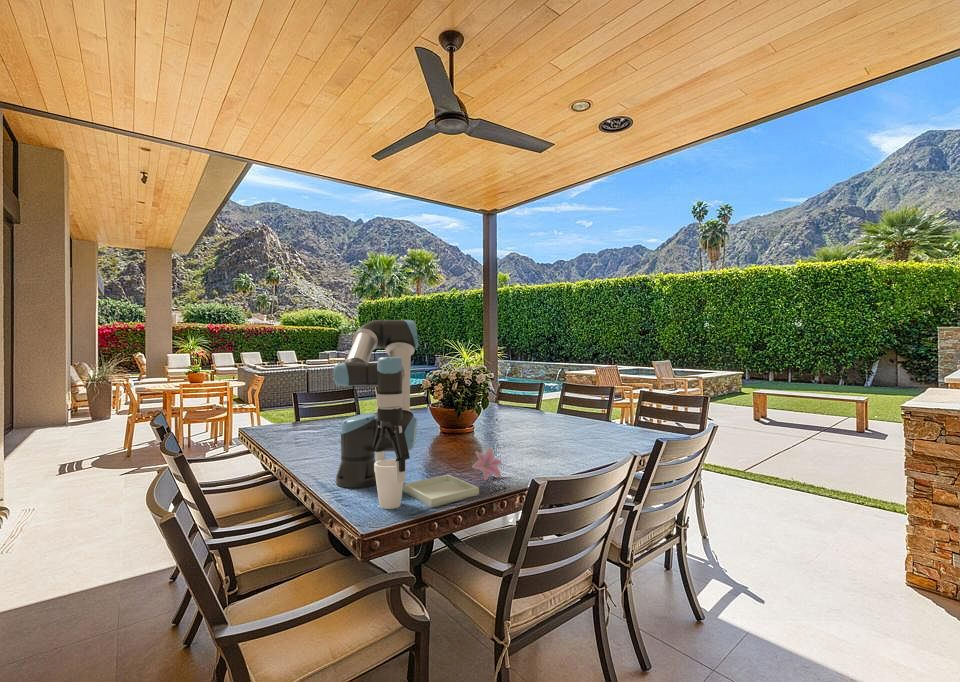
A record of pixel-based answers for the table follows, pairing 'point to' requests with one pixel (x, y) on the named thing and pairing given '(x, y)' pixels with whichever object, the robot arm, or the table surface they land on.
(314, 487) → the table surface
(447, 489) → the tray
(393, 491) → the foam cup
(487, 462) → the lily
